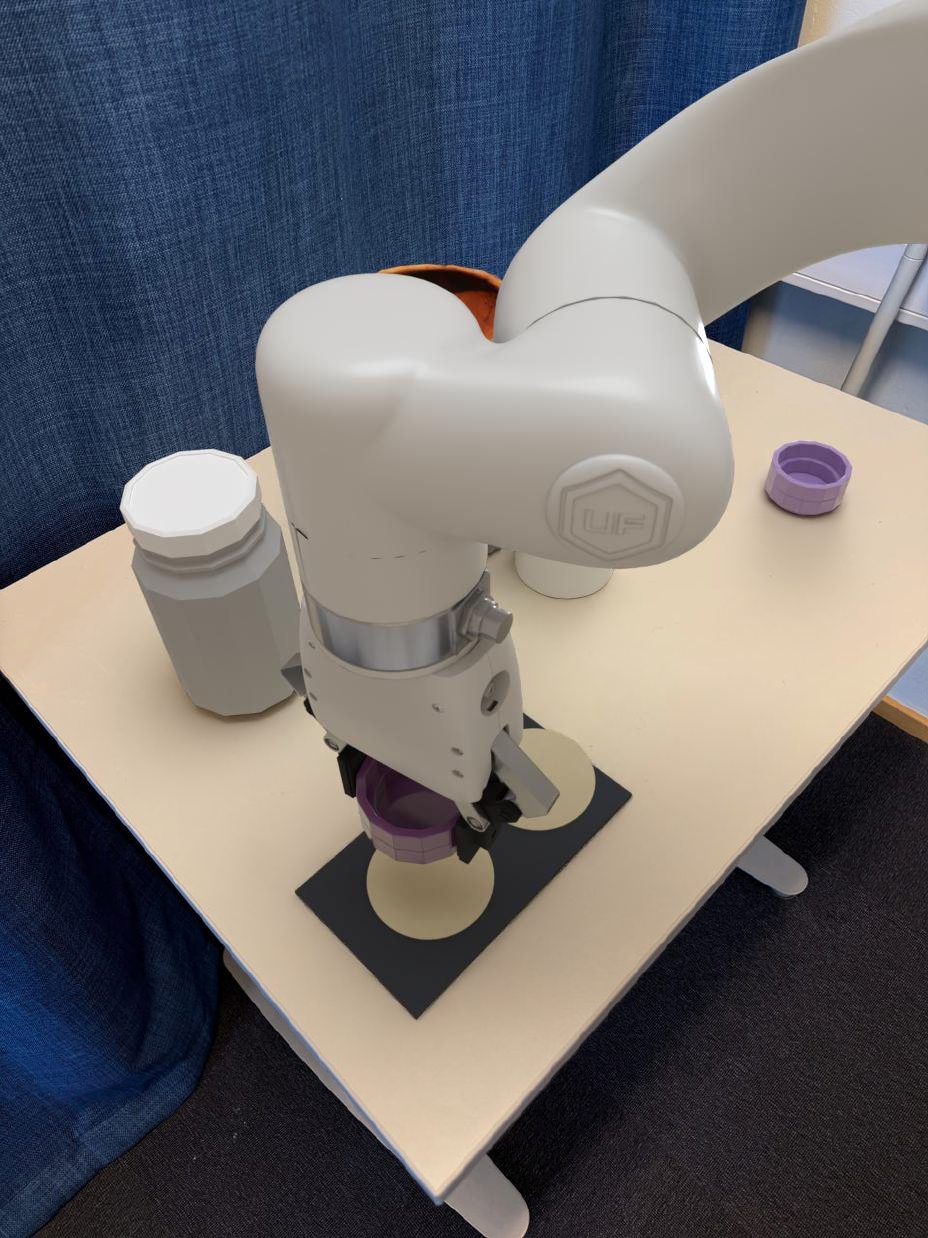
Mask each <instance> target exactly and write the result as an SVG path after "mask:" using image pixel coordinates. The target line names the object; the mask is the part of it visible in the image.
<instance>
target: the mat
mask: <svg viewBox="0 0 928 1238" xmlns="http://www.w3.org/2000/svg"><path fill="white" fill-rule="evenodd" d="M519 747H520V748H521V749H522V750H523V751H524V753H525V754H526V755H527V756H528V757H529V758H530V759H531V760H532V761H533V762H534V763H535V765H536V766H537V767H538V768H539V769H540V770H541V771H542V772H543V773H544V774H545V776H546V777H547V778H548V779H549V780H550V781H551V782H552V783H553V784H554V785H555V787H556V788H557V789H558V790H559V792H560V796H559V798H558V799H557V801H556V802H555V804H554V805H553V807H552V809H551V810H550V812H549V813H548V815H546V816H542V817H533V818H526V817H520V818H519V820H518V821H517V822H516V823H502V827H501V831H500V833H499V835H498V837H497V839H496V840H495V842H494V843H493V845H492V846H491V848H490V849H489V850H485V849H483V848H481V847H480V849H479V850H478V851H477V853H476V854H475V856H474V857H473V859H472V860H471V862H470V863H469V864H466V863H464V862H462V861H460V860H459V856H457V852H456V853H455V854H454V855H452V856H451V857H448V858H445V859H442V860H438V861H435V862H432V863H429V864H414V863H406V862H398V861H395V860H394V859H392V858H390V857H389V856H387V855H386V854H384V853H382V852H381V851H379V850H378V849H376V848H375V847H374V846H373V844H372V842H371V841H370V839H369V837H368V835H367V834H366V832H365V830H364V829H363V831H362V832H361V833H360V834H359V835H357V836H356V837H355V838H354V839H353V840H351V841H350V842H349V843H348V844H347V845H346V846H345V847H343V848H342V849H341V850H340V851H339V852H338V853H337V854H335V855H334V856H333V857H332V858H331V859H330V860H328V861H327V862H326V863H325V864H324V865H323V866H322V867H320V868H319V869H318V870H317V871H315V873H313V874H312V875H311V876H310V877H309V878H308V879H306V881H304V882H303V883H302V884H301V885H299V886H298V887H297V888H296V889H295V890H294V893H295V895H296V896H297V897H298V898H299V899H300V900H301V901H302V902H303V903H304V905H305V906H306V907H308V909H309V910H311V911H312V913H313V914H314V915H315V916H316V917H317V918H318V919H319V920H320V921H321V922H322V923H323V924H324V925H325V926H326V928H327V929H328V930H330V932H332V934H333V935H334V936H335V937H336V938H337V939H338V940H339V941H340V942H341V944H343V945H344V946H345V947H346V948H347V949H348V950H349V951H350V953H351V954H353V955H354V957H355V958H356V959H357V960H358V961H359V962H360V963H361V964H362V965H363V966H364V968H366V970H368V971H369V972H370V973H371V974H372V976H373V977H374V978H375V979H376V980H377V981H378V982H379V983H380V984H381V985H382V986H383V987H384V988H385V989H386V991H388V992H389V993H390V994H391V995H392V996H393V997H394V998H395V1000H396V1001H397V1002H398V1003H399V1004H400V1005H401V1006H402V1007H403V1008H404V1009H405V1010H406V1011H407V1012H408V1013H409V1015H411V1016H412V1017H413V1019H415V1021H416V1020H418V1019H419V1018H420V1017H421V1016H422V1015H423V1014H424V1013H425V1012H426V1011H427V1010H428V1009H429V1008H430V1007H431V1006H432V1005H433V1003H435V1002H436V1001H437V1000H438V998H439V997H440V996H442V994H443V993H444V992H445V991H447V989H448V988H449V987H450V986H451V985H452V984H453V983H454V982H455V981H456V980H457V979H458V978H459V977H460V976H461V975H462V973H463V972H464V971H465V970H466V969H468V967H470V965H471V964H472V963H473V962H474V961H475V960H476V959H477V958H478V957H479V956H480V955H481V954H482V953H483V952H484V951H485V950H486V949H487V947H489V946H490V945H491V943H492V942H494V941H495V939H497V937H498V936H499V935H500V934H501V933H502V932H503V931H504V930H505V929H506V928H507V927H508V926H509V925H510V924H511V923H512V922H513V921H514V920H515V919H516V918H517V917H518V916H519V915H520V914H521V912H523V910H524V909H525V908H526V907H527V906H528V905H529V904H530V903H531V902H532V901H533V900H534V899H535V898H536V897H537V896H538V895H539V894H540V893H541V892H542V891H543V889H544V888H546V886H548V885H549V883H551V881H552V880H553V879H554V878H555V877H556V876H557V875H558V874H559V873H560V872H561V871H562V870H563V869H564V868H565V867H566V866H567V865H568V864H569V862H571V861H572V860H573V858H575V856H576V855H578V854H579V852H580V851H581V850H582V849H583V848H584V847H585V846H586V845H587V844H588V843H589V842H590V841H591V840H592V839H593V838H594V837H595V836H596V835H597V834H598V833H599V832H600V831H601V829H602V828H603V827H605V826H606V824H607V823H608V822H609V821H610V820H611V819H612V818H613V817H614V816H615V815H616V814H617V813H618V812H619V811H620V810H621V809H622V808H623V807H624V806H625V805H626V804H627V803H628V802H629V800H630V799H631V798H632V797H633V793H631V792H630V791H629V790H628V789H626V787H624V786H622V785H621V784H620V783H618V781H616V780H614V779H613V778H612V777H610V775H608V774H606V773H605V772H604V771H602V770H601V769H600V768H598V767H597V766H596V765H595V764H593V763H592V762H591V759H590V758H589V756H588V754H587V753H586V752H585V751H584V749H583V748H582V747H581V746H580V745H579V744H578V743H576V741H574V740H572V739H571V738H570V737H568V736H566V735H564V734H562V733H561V732H557V731H553V730H551V729H546V728H545V727H543V726H542V725H541V724H540V723H538V722H537V721H536V720H534V719H533V718H532V717H530V716H529V715H528V714H526V713H525V712H523V736H522V740H521V742H520V744H519Z"/></svg>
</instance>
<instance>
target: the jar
mask: <svg viewBox="0 0 928 1238" xmlns="http://www.w3.org/2000/svg"><path fill="white" fill-rule="evenodd" d="M122 492H123V493H122V496H121V501H120V505H119V510H120V512H121V515H122V517H123V520H124V522H125V524H126V527H127V529H128V531H129V532H130V533H131V535H132V537H133V538H132V543H133V546H134V551H133V556H132V559H131V560H132V561H131V564H130V567H131V569H132V572H133V574H134V577H135V579H136V581H137V584H138V587H139V588H140V590H141V593H142V595H143V597H144V600H145V602H146V604H147V608H148V609H149V611H150V614H151V616H152V619H153V621H154V623H155V626H156V629H157V631H158V633H159V635H160V638H161V640H162V643H163V645H164V648H165V650H166V652H167V655H168V657H169V660H170V662H171V665H172V667H173V669H174V671H175V674H176V676H177V679H178V680H179V683H180V684H181V686H182V688H183V689H184V690H185V692H186V694H187V695H188V697H189V698H190V700H191V702H192V703H193V705H195V706H196V707H197V706H198V707H200V708H202V709H205V710H208V711H211V712H212V713H215V714H218V715H220V716H223V717H224V716H225V717H226V716H228V717H229V716H238V715H240V716H241V715H249V714H260V713H262V712H264V711H266V710H267V709H269V708H271V707H273V706H275V705H277V704H278V703H280V702H282V701H284V700H286V699H287V698H289V697H290V696H291V695H292V694H293V693H294V691H295V689H294V688H293V687H292V686H291V685H290V684H289V682H288V681H287V680H286V679H285V678H284V677H283V675H282V674H281V672H280V669H281V668H282V667H283V666H284V665H285V664H286V663H287V662H288V661H289V660H290V659H291V658H292V657H293V656H294V655H295V654H296V653H300V638H299V623H300V610H301V604H300V602H299V601H300V600H299V597H298V592H297V588H296V585H295V584H296V583H295V581H294V576H293V572H292V568H291V563H290V559H289V554H288V550H287V546H286V543H285V538H284V537H285V536H284V534H283V529H282V526H281V525H280V524H279V522H278V521H276V519H275V518H274V517H273V516H272V514H271V513H270V512H269V511H268V510H267V507H266V506H265V505H264V503H263V502H262V499H263V494H262V493H263V492H262V488H261V486H260V481H259V476H258V474H257V472H256V471H255V470H254V469H253V468H252V467H251V465H249V463H247V461H246V460H245V459H244V458H243V457H242V456H239V455H237V454H233V453H229V452H225V451H222V450H219V449H215V448H207V449H194V450H183V451H177V452H175V453H172V454H169V455H167V456H165V457H162V458H160V459H157V460H155V461H153V462H150V463H147V464H146V465H145V466H144V467H143V468H141V470H139V471H138V472H137V473H136V474H135V475H134V476H133V477H132V478H131V479H130V480H129V481H128V482H127V483H126V484H125V485H124V488H123V491H122Z"/></svg>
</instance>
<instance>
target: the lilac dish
mask: <svg viewBox="0 0 928 1238" xmlns="http://www.w3.org/2000/svg"><path fill="white" fill-rule="evenodd" d="M852 471H853V466H852V464H851V462H850V460H849V459H848V457H847V455H845V454H844V453H843V452H841V451H840V450H838V449H837V448H835V447H834V446H832V445H828V444H825V443H823V442H819V441H815V440H804V439H803V440H801V439H797V440H794V441H790V442H786V443H783V444H782V445H780V446H779V447H778V448H776V449H775V450H774V451H773V453H772V457H771V461H770V464H769V467H768V471H767V475H766V478H765V483H764V488H765V491H766V493H767V494H768V497H769V498H770V499H771V500H772V501H773V502H774V503H775V504H776V505H777V506H778V507H780V508H782V509H784V510H785V511H787V512H790V513H793V514H795V515H802V516H816V515H817V516H818V515H821V514H825V513H828V512H831V511H833V510H834V509H836V508H837V507H838V506H839V505H841V503H842V502H843V500H844V499H843V498H844V497H845V494H846V491H847V488H848V486H849V483H850V480H851V478H852Z"/></svg>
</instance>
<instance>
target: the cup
mask: <svg viewBox="0 0 928 1238" xmlns="http://www.w3.org/2000/svg"><path fill="white" fill-rule="evenodd" d="M514 552H515V553H514V565H515V570H516V573H517V575H518V577H519V578H520V580H521V581H522V582H523V583H524V584H525V585H526V586H527V587H529V588H530V589H531V590H533V591H535V592H537V593H538V594H542V595H544V596H547V597H551V598H555V599H566V600H567V599H569V600H571V599H578V598H583V597H584V598H585V597H587V596H589V595H592V594H595V593H596V592H598V591H600V590H601V589H603V588H604V587H605V586H606V585H607V584H608V582H609V581H610V580H611V578H612V575H613V572H614V569H606V568H592V567H585V566H579V565H573V564H568V563H562V562H557V561H553V560H549V559H544V558H540V557H536V556H532V555H528V554H524V553H521V552H517V551H514Z"/></svg>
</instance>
